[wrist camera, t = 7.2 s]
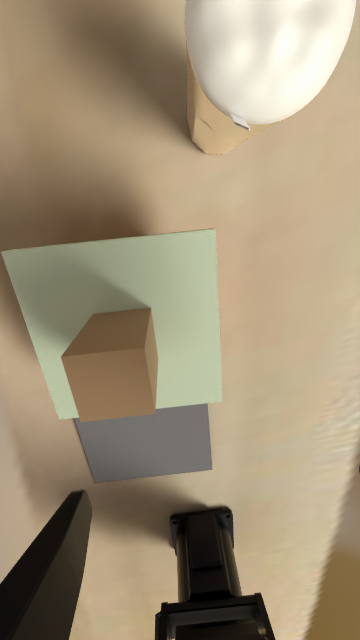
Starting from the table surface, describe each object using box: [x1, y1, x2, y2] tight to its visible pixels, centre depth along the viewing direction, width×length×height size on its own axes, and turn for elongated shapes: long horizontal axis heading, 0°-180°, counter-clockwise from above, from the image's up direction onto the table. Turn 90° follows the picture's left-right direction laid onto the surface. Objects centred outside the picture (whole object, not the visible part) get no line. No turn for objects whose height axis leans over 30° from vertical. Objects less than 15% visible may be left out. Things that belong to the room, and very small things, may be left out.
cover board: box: [1, 228, 223, 422], centre depth 12 cm, size 10×10×5 cm
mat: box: [74, 403, 212, 483], centre depth 22 cm, size 11×11×1 cm
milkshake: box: [185, 0, 356, 155], centre depth 10 cm, size 4×5×10 cm
